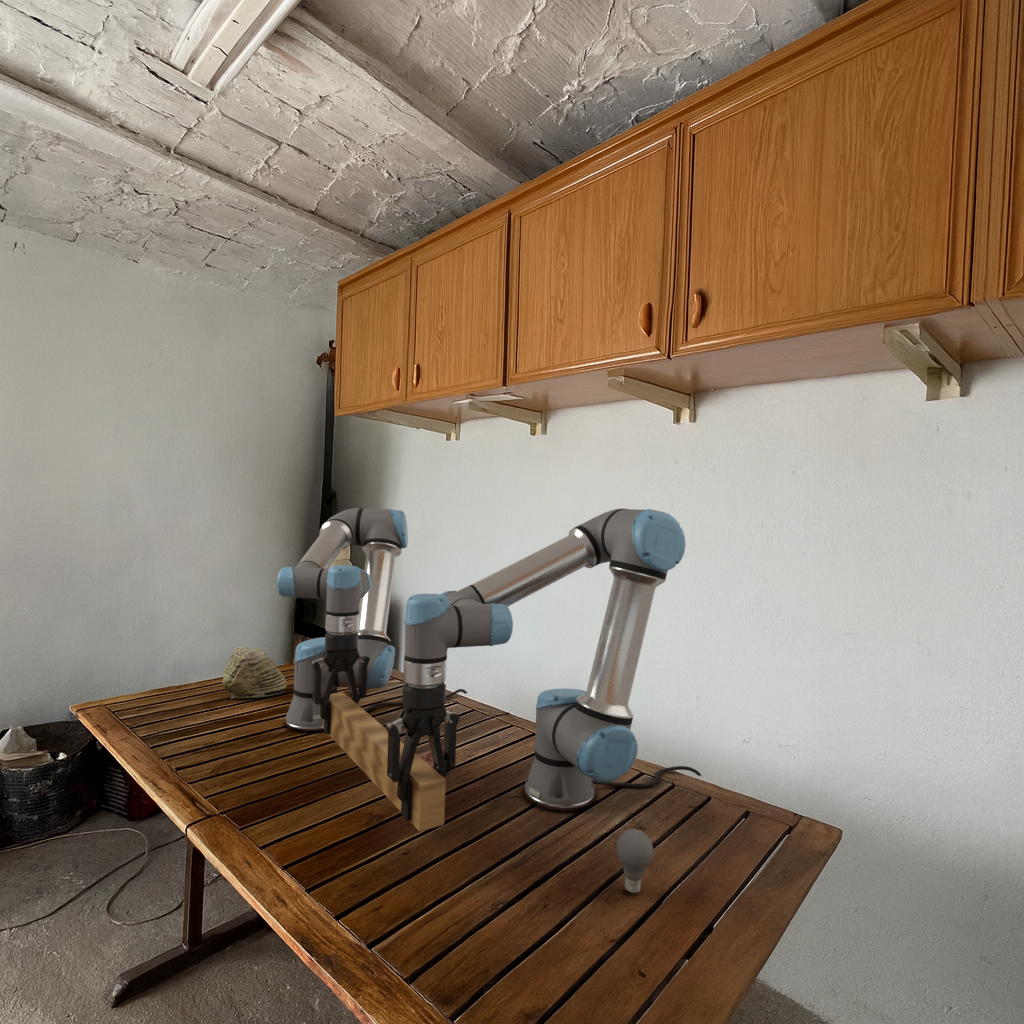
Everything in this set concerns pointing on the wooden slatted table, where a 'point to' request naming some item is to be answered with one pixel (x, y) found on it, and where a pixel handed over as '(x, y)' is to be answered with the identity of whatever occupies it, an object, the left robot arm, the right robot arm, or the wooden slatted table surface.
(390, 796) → the bar
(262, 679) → the fossil
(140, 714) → the wooden slatted table surface
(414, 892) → the wooden slatted table surface
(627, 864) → the light bulb
